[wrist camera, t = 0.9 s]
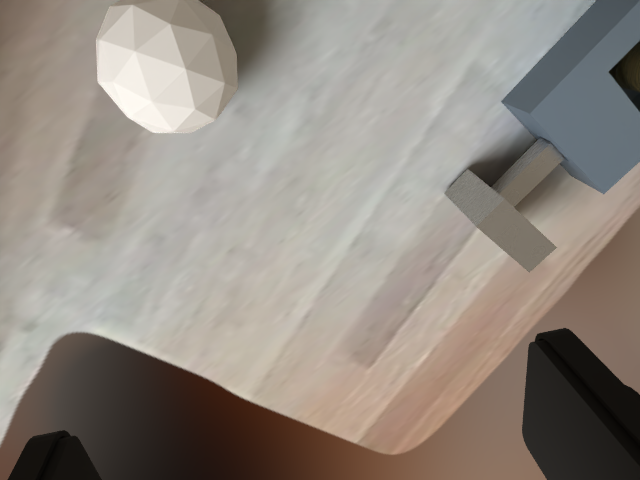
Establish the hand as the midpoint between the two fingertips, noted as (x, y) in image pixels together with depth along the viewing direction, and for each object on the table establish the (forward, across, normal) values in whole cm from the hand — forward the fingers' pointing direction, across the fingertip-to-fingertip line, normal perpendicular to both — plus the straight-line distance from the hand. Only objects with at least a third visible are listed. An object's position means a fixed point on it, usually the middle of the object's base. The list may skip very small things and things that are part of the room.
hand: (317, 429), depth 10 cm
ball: (+26, +5, -6) cm, 27 cm away
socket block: (+26, -24, 0) cm, 35 cm away
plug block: (+26, -17, +6) cm, 32 cm away
